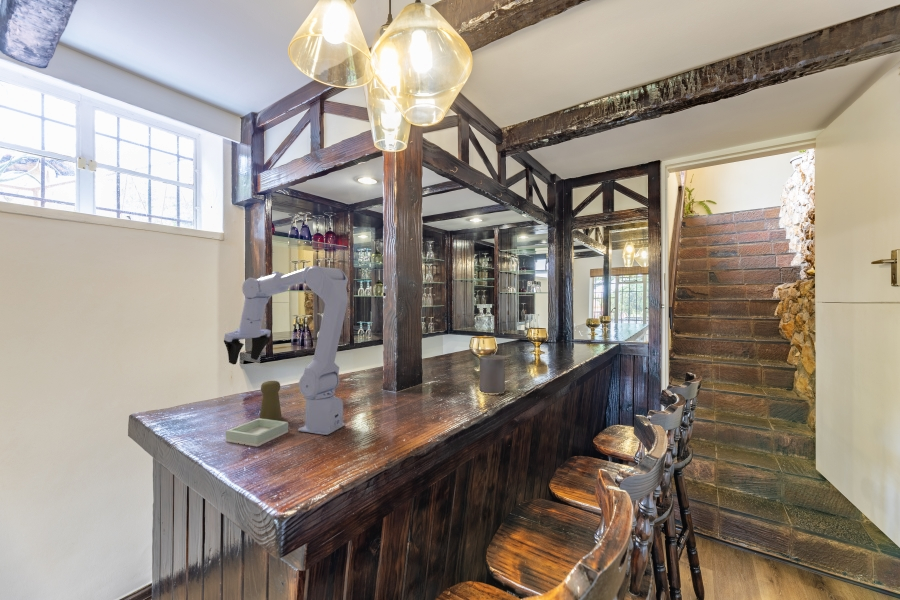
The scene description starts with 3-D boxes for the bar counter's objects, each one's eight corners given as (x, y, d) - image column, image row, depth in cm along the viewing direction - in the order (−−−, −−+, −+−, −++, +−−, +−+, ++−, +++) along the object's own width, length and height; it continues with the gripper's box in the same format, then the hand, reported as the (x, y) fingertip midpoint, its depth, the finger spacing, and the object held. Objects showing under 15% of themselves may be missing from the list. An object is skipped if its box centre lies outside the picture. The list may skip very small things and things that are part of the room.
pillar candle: (479, 388, 141) (479, 351, 141) (504, 389, 140) (504, 351, 140) (479, 395, 132) (479, 355, 132) (505, 396, 131) (505, 355, 131)
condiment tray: (288, 432, 94) (288, 422, 94) (257, 446, 85) (257, 435, 85) (258, 427, 98) (258, 418, 98) (225, 441, 88) (225, 430, 88)
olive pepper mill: (275, 422, 102) (275, 383, 102) (254, 421, 102) (254, 383, 102) (285, 415, 108) (285, 379, 108) (265, 415, 108) (266, 379, 108)
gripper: (261, 313, 115) (253, 353, 116) (220, 315, 101) (211, 361, 102) (278, 319, 113) (270, 360, 114) (238, 322, 99) (229, 368, 100)
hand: (243, 361), depth 108 cm, fingers open, 7 cm apart
